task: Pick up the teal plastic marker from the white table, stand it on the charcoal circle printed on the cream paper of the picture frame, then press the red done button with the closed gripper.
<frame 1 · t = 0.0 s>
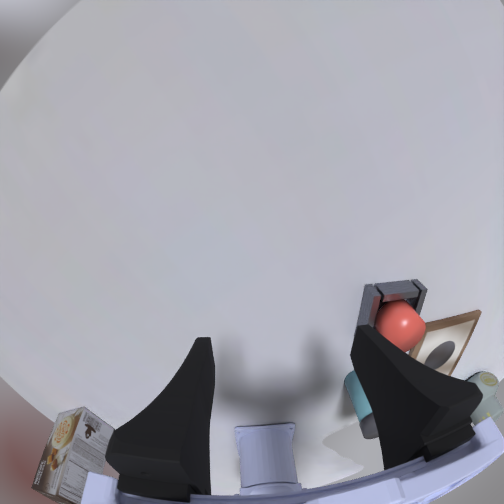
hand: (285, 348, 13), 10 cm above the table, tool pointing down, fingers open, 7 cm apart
picture frame: (432, 363, 30), on the table
button collar: (386, 308, 25), on the table
coffee box: (85, 420, 32), on the table
done button: (399, 326, 22), point 3 cm above the table, slide at 0.0 cm
air freshener: (467, 384, 35), on the table
marker: (357, 377, 29), on the table
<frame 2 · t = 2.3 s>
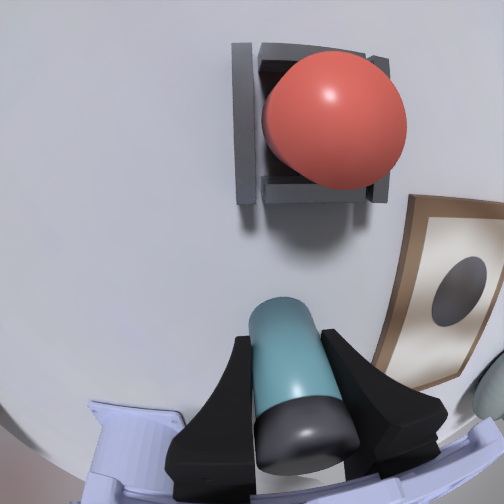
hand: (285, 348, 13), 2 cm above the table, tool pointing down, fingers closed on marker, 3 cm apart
picture frame: (446, 312, 16), on the table
button collar: (305, 123, 11), on the table
done button: (328, 120, 8), point 3 cm above the table, slide at 0.0 cm
air freshener: (495, 366, 21), on the table
marker: (280, 323, 15), on the table, touching gripper
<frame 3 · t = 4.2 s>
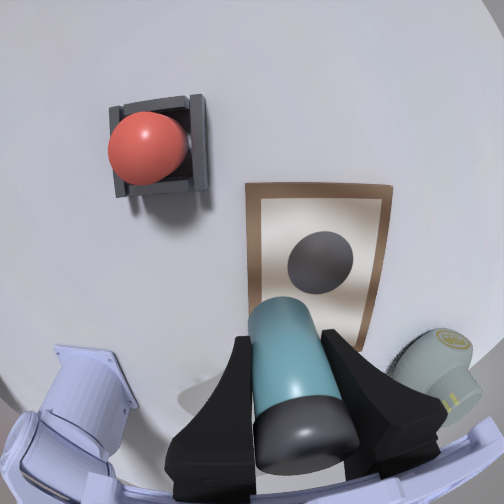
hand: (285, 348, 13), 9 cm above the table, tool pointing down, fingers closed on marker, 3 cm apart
picture frame: (316, 282, 22), on the table
button collar: (162, 145, 17), on the table
done button: (150, 147, 15), point 3 cm above the table, slide at 0.0 cm
air freshener: (421, 350, 28), on the table
marker: (279, 322, 15), point 7 cm above the table, touching gripper
when the fingers open (4 cm above the table, at t = 6.0 s): marker drops 1 cm, resting on picture frame.
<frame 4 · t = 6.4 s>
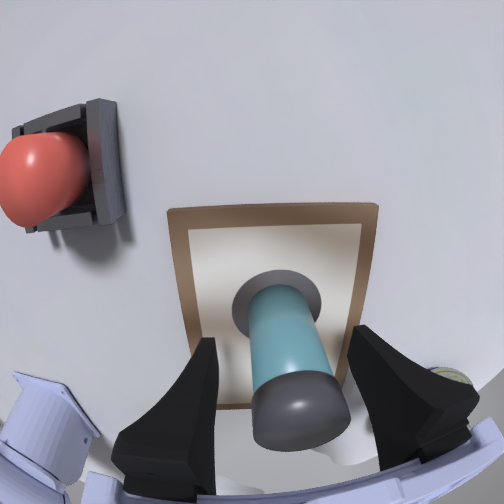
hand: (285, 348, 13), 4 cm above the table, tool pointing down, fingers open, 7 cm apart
picture frame: (275, 328, 17), on the table
button collar: (73, 165, 13), on the table
done button: (42, 175, 10), point 3 cm above the table, slide at 0.0 cm
air freshener: (414, 389, 23), on the table
marker: (277, 310, 16), point 1 cm above the table, touching picture frame
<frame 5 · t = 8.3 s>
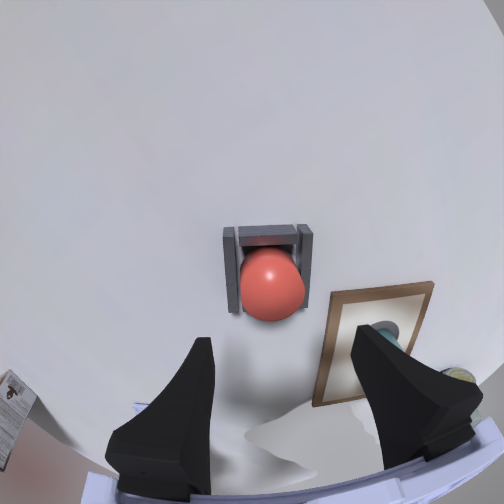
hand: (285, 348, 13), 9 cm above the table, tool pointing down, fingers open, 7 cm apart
picture frame: (369, 351, 26), on the table
button collar: (265, 263, 22), on the table
coffee box: (16, 386, 29), on the table
done button: (270, 282, 19), point 3 cm above the table, slide at 0.0 cm
air freshener: (436, 383, 32), on the table
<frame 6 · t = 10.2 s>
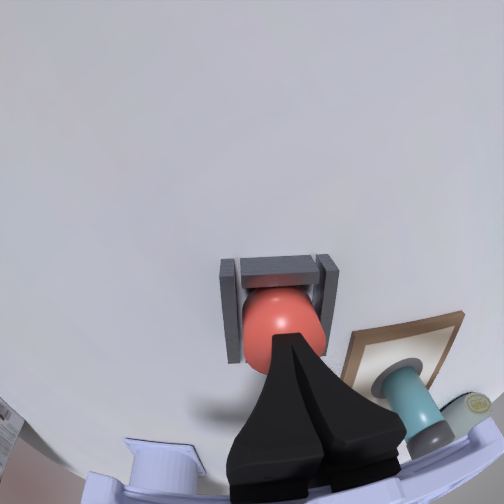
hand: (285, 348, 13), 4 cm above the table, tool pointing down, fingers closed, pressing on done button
picture frame: (388, 387, 22), on the table
button collar: (275, 302, 17), on the table
coffee box: (3, 408, 24), on the table
done button: (281, 328, 14), point 3 cm above the table, slide at 0.5 cm, touching gripper
air freshener: (450, 408, 27), on the table
marker: (398, 379, 20), point 1 cm above the table, touching picture frame
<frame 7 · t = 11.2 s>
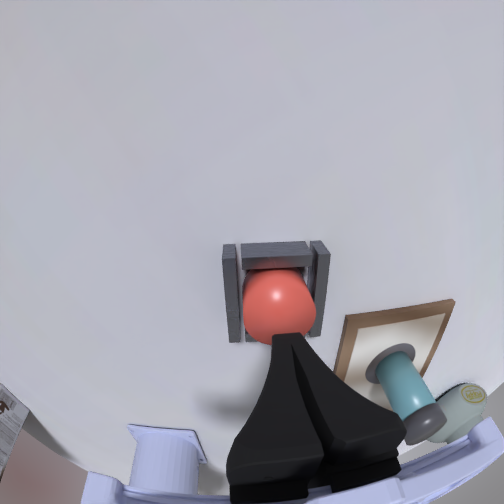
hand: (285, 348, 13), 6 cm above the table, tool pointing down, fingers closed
picture frame: (382, 373, 23), on the table
button collar: (272, 285, 18), on the table
coffee box: (8, 399, 26), on the table
done button: (276, 302, 17), point 2 cm above the table, slide at 1.0 cm
air freshener: (446, 398, 28), on the table
marker: (391, 364, 22), point 1 cm above the table, touching picture frame
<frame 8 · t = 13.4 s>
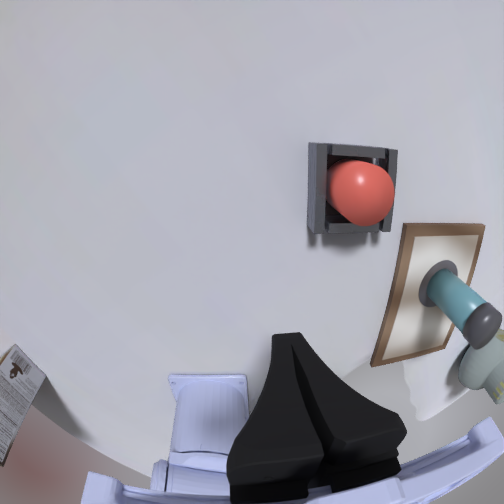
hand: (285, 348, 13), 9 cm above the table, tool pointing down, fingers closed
picture frame: (430, 297, 24), on the table
button collar: (347, 184, 19), on the table
coffee box: (21, 366, 26), on the table
done button: (357, 190, 18), point 2 cm above the table, slide at 1.0 cm
air freshener: (477, 346, 29), on the table
marker: (439, 284, 23), point 1 cm above the table, touching picture frame
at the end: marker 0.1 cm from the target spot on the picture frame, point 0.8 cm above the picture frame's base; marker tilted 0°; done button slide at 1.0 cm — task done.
